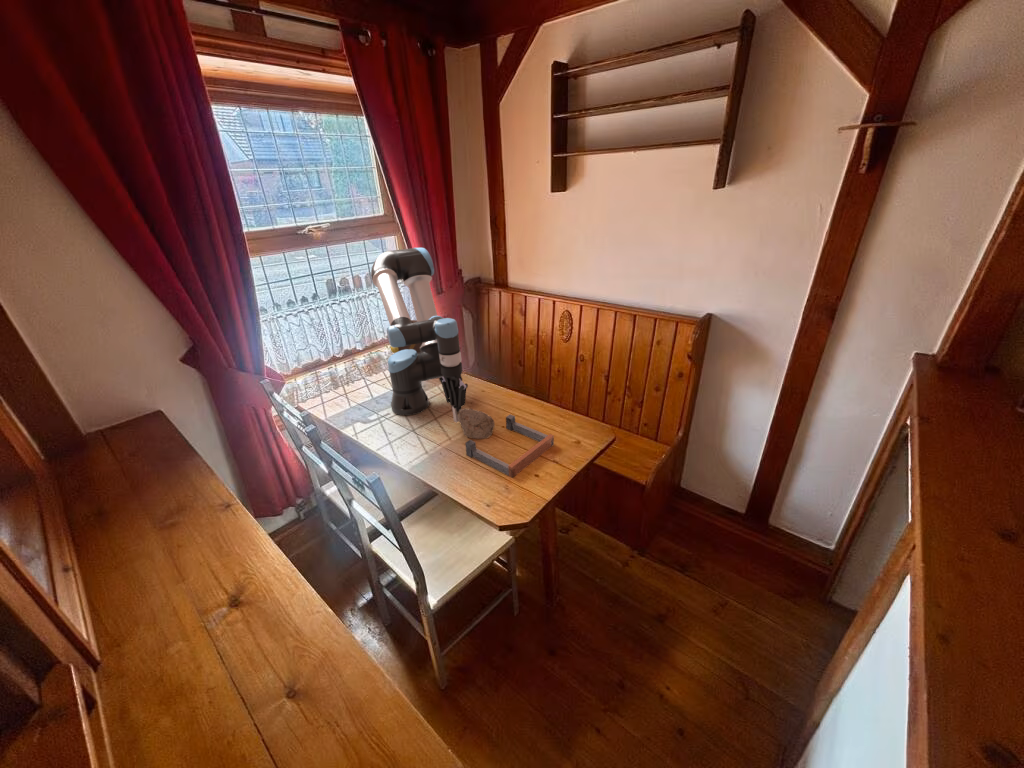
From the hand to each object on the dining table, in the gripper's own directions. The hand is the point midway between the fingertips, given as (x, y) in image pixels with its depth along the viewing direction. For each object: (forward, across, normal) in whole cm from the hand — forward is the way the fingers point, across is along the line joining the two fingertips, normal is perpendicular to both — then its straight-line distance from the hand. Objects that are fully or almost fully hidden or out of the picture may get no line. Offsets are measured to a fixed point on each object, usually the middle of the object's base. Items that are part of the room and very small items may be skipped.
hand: (457, 420), depth 159 cm
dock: (+3, +26, 0) cm, 26 cm away
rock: (+3, +9, 0) cm, 9 cm away
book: (+2, -52, +21) cm, 56 cm away
